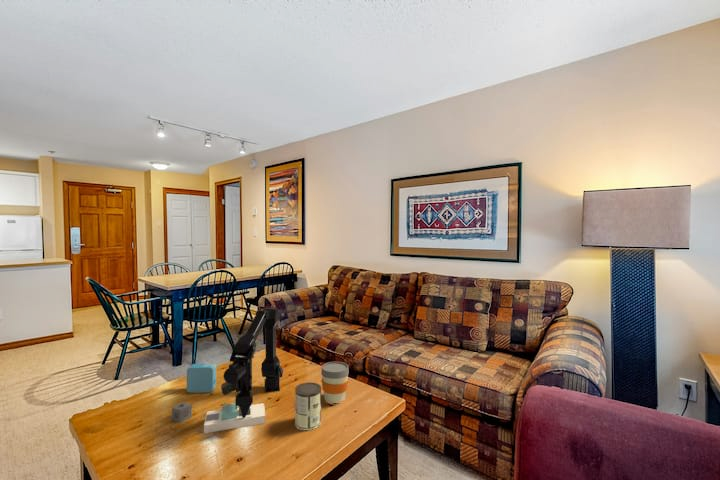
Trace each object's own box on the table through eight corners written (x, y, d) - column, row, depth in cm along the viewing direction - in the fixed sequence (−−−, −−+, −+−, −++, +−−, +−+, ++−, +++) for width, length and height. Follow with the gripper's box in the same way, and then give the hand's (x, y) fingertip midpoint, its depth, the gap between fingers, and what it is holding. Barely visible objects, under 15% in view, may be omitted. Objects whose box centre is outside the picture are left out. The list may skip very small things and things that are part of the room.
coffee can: (302, 414, 137) (303, 380, 137) (325, 419, 134) (325, 384, 133) (289, 427, 127) (290, 391, 127) (313, 433, 124) (314, 396, 124)
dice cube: (183, 413, 136) (183, 401, 136) (191, 416, 134) (191, 404, 134) (171, 419, 131) (172, 407, 131) (180, 423, 129) (180, 410, 129)
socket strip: (263, 410, 139) (263, 402, 139) (265, 423, 130) (265, 414, 130) (206, 419, 132) (207, 410, 132) (204, 433, 123) (204, 424, 122)
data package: (216, 388, 158) (216, 363, 158) (212, 392, 154) (212, 367, 154) (190, 388, 158) (191, 363, 158) (186, 392, 153) (186, 367, 153)
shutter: (237, 408, 134) (237, 402, 134) (236, 417, 128) (236, 411, 128) (222, 410, 132) (222, 404, 132) (221, 420, 126) (221, 413, 126)
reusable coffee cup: (315, 403, 146) (316, 369, 146) (328, 390, 158) (329, 359, 157) (341, 409, 141) (341, 374, 141) (352, 396, 153) (353, 364, 153)
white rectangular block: (248, 415, 134) (248, 399, 134) (248, 420, 131) (248, 404, 131) (238, 416, 133) (238, 400, 133) (238, 421, 129) (238, 405, 129)
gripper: (224, 366, 138) (223, 402, 138) (221, 385, 120) (220, 427, 120) (252, 363, 141) (251, 398, 142) (253, 381, 124) (252, 422, 124)
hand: (243, 411), depth 132 cm, fingers open, 9 cm apart
